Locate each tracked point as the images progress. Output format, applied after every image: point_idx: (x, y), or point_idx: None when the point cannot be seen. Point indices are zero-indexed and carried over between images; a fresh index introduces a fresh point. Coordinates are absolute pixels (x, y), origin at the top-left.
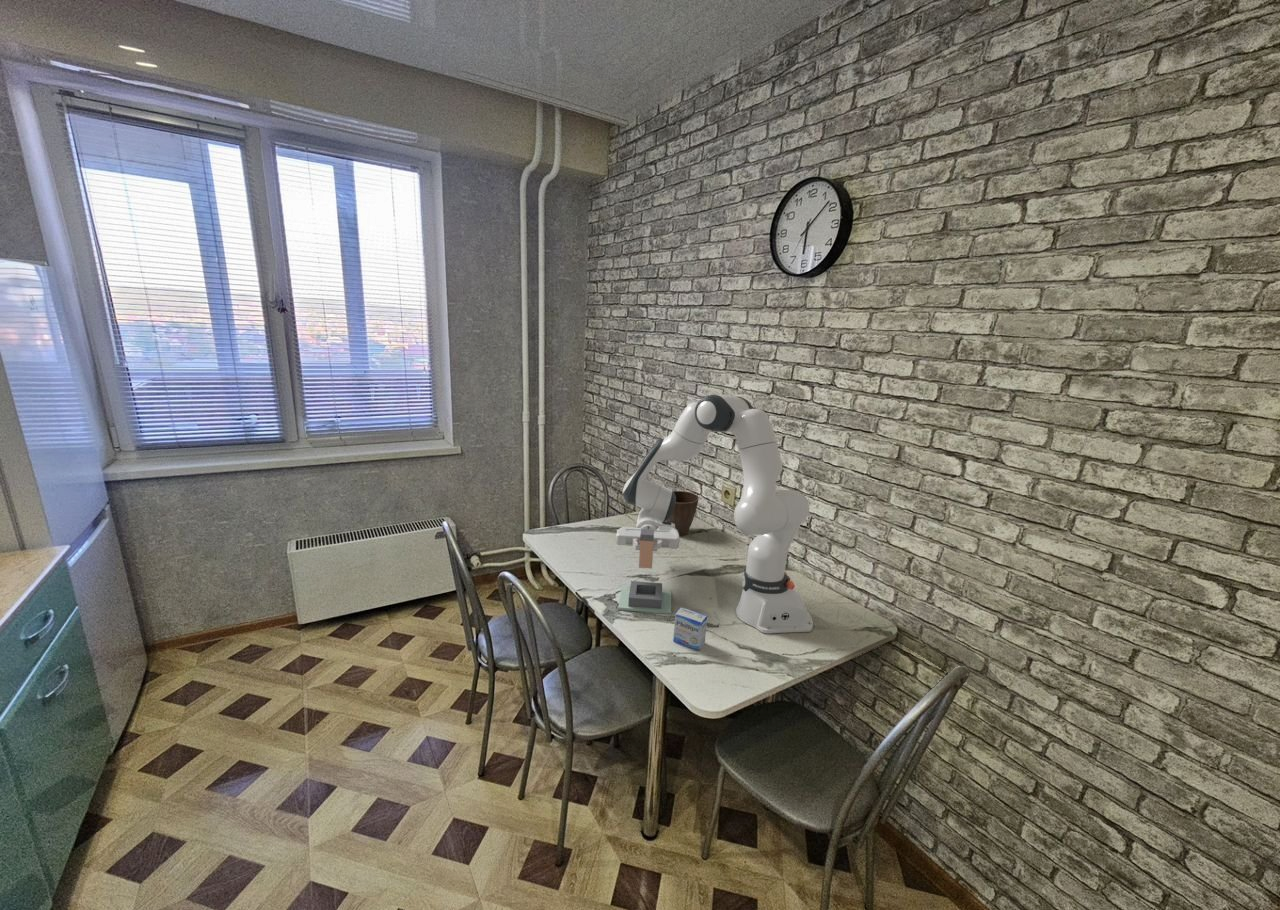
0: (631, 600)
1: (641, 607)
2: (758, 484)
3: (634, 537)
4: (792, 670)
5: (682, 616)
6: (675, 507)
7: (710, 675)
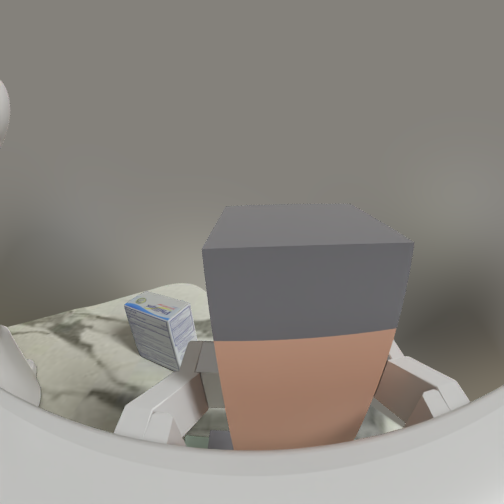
0: None
1: None
2: None
3: (468, 406)
4: (61, 315)
5: (176, 299)
6: None
7: None
